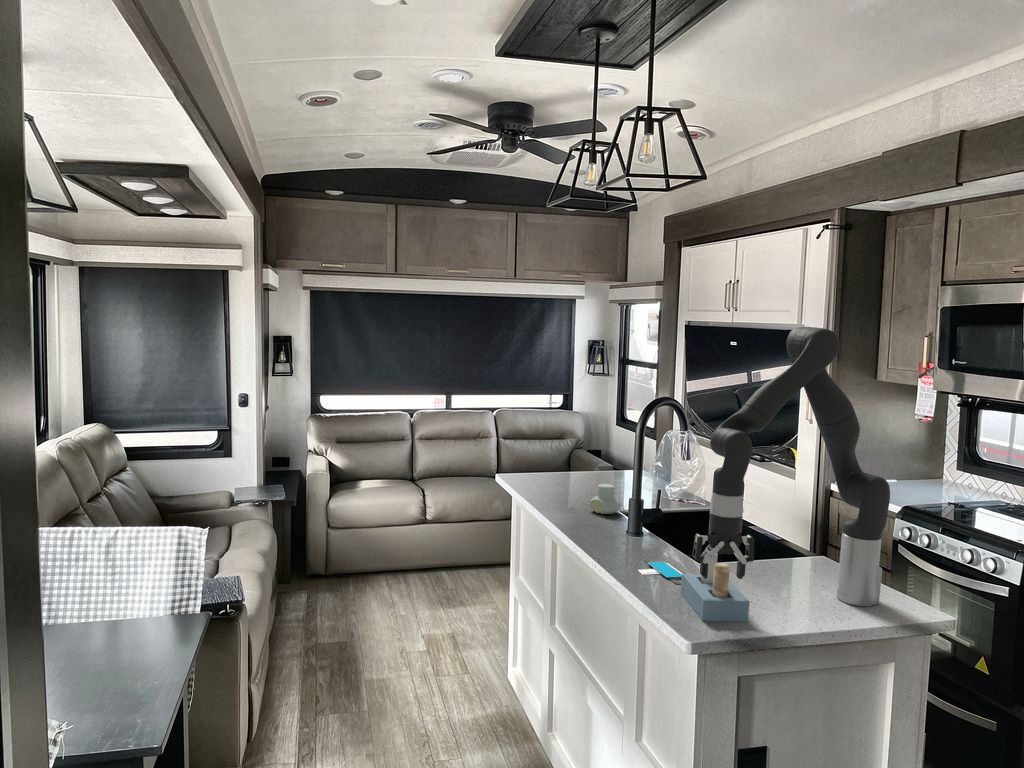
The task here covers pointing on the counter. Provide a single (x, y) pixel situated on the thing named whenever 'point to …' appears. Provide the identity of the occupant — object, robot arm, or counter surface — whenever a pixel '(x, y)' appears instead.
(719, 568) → the beech pin
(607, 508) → the pale green pipe fitting
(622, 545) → the counter surface
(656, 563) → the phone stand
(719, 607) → the bore block
